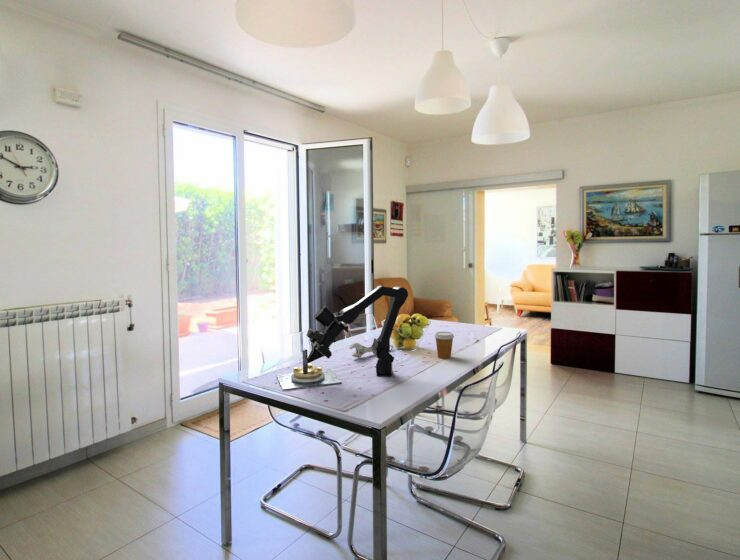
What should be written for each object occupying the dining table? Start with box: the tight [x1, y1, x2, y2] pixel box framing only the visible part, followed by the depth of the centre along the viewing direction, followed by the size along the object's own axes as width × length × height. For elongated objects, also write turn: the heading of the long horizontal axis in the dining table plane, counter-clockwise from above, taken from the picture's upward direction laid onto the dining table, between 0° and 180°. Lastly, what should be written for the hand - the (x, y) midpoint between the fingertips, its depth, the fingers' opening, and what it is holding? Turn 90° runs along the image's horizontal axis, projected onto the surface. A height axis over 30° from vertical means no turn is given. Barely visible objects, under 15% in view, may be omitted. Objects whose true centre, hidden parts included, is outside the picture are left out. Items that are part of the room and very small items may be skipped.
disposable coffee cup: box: [434, 331, 455, 359], centre depth 214 cm, size 10×10×12 cm
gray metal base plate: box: [276, 368, 343, 391], centre depth 182 cm, size 24×20×2 cm
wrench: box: [349, 342, 394, 359], centre depth 221 cm, size 8×2×30 cm
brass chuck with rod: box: [292, 348, 323, 379], centre depth 181 cm, size 12×12×12 cm
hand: (306, 362), depth 178 cm, fingers closed
